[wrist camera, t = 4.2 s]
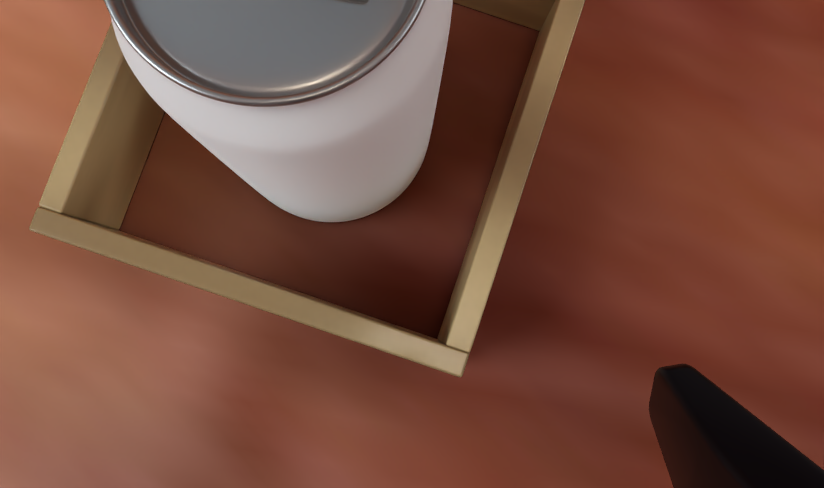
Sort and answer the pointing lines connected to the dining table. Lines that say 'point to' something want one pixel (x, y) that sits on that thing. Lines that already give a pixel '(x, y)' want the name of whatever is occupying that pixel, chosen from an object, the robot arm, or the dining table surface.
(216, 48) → the can
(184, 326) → the dining table surface
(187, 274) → the wooden frame
